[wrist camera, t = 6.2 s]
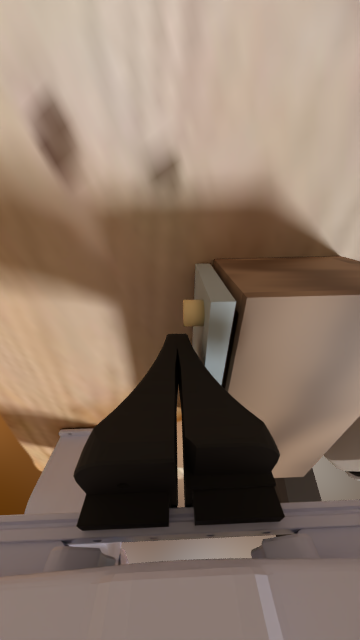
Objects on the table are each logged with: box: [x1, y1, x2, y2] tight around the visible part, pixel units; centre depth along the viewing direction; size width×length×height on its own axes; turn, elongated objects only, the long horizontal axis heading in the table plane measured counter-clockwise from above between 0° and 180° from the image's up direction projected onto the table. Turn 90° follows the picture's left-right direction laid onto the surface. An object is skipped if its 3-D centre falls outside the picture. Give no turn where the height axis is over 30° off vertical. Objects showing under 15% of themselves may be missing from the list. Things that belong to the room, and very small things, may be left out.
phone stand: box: [274, 468, 321, 537], centre depth 24 cm, size 9×6×12 cm, turn 154°
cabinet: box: [214, 256, 360, 478], centre depth 15 cm, size 9×19×6 cm, turn 1°
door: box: [183, 264, 236, 385], centre depth 14 cm, size 2×18×6 cm, turn 0°
